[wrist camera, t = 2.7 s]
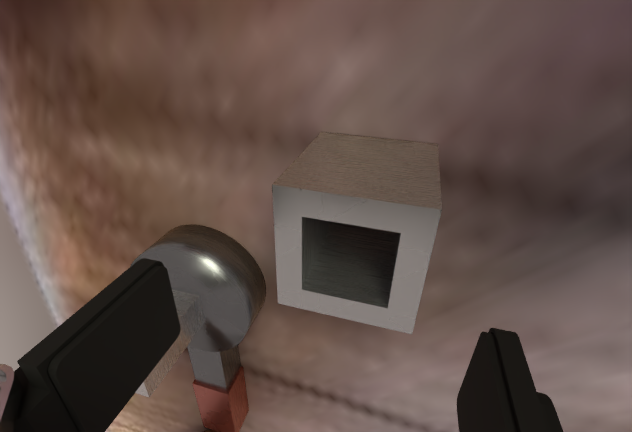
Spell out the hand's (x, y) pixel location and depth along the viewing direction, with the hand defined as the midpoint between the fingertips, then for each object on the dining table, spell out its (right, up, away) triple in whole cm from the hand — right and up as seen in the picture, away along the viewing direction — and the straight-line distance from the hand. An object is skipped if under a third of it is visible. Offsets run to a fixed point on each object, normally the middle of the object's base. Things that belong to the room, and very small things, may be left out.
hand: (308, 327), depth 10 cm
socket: (+3, +5, +7) cm, 8 cm away
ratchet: (-7, -6, +16) cm, 18 cm away
